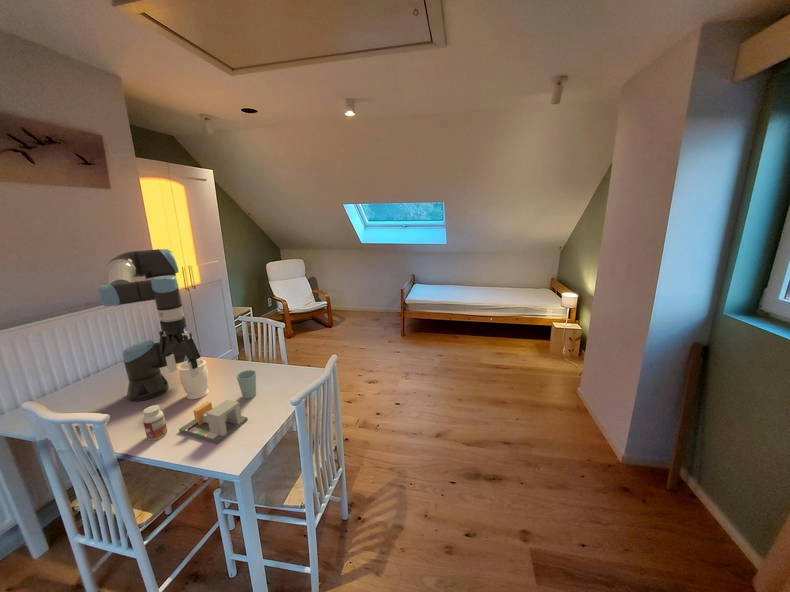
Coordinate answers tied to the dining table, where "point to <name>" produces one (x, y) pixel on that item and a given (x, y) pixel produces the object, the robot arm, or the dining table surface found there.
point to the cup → (247, 383)
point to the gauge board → (206, 427)
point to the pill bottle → (154, 423)
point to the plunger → (201, 414)
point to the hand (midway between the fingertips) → (183, 373)
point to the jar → (194, 380)
